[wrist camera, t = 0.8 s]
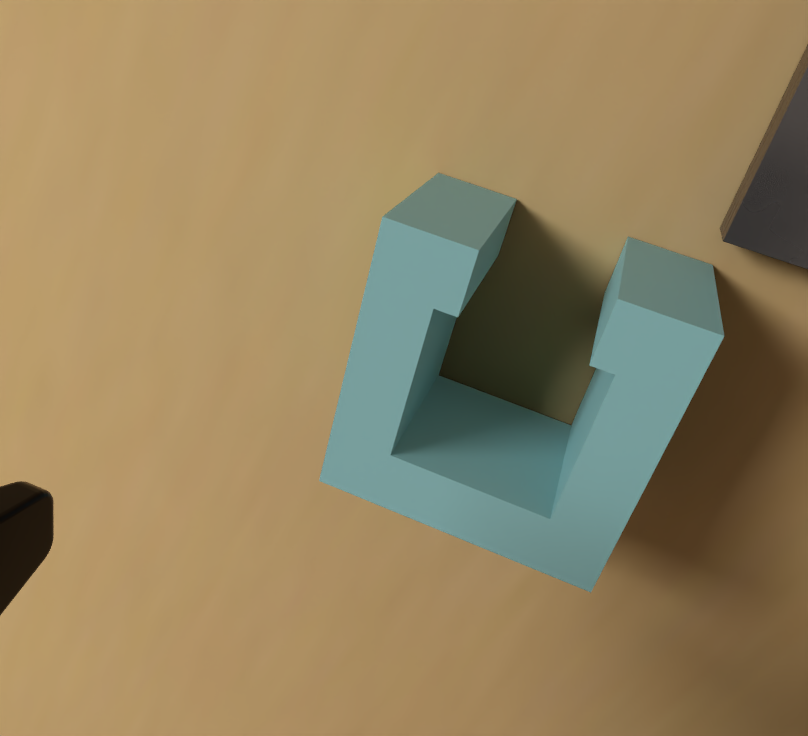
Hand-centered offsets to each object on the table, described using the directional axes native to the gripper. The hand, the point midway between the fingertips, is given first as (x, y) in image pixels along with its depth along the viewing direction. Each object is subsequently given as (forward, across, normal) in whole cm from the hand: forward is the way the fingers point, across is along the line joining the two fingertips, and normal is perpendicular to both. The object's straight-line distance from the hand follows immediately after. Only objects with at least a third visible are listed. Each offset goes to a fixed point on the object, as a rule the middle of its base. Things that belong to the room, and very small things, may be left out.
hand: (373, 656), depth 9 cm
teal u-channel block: (+11, 0, 0) cm, 11 cm away
